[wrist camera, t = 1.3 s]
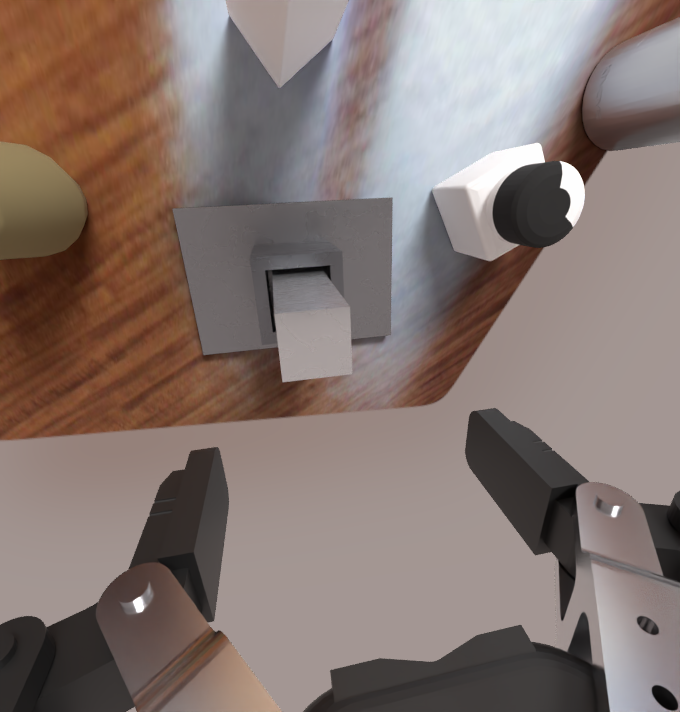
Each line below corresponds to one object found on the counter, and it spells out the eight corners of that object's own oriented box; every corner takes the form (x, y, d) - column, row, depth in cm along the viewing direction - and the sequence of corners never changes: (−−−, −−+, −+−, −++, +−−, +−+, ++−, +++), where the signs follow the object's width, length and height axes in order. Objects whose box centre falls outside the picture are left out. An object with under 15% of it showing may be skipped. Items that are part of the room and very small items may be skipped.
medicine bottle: (453, 252, 39) (524, 273, 28) (429, 188, 36) (498, 184, 25) (512, 218, 39) (606, 226, 28) (493, 150, 36) (589, 130, 25)
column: (312, 257, 36) (350, 306, 19) (315, 297, 37) (352, 373, 21) (271, 260, 35) (274, 313, 19) (276, 300, 37) (282, 382, 20)
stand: (388, 197, 36) (431, 197, 27) (387, 331, 42) (422, 370, 32) (175, 208, 33) (138, 212, 24) (205, 350, 39) (185, 399, 29)
